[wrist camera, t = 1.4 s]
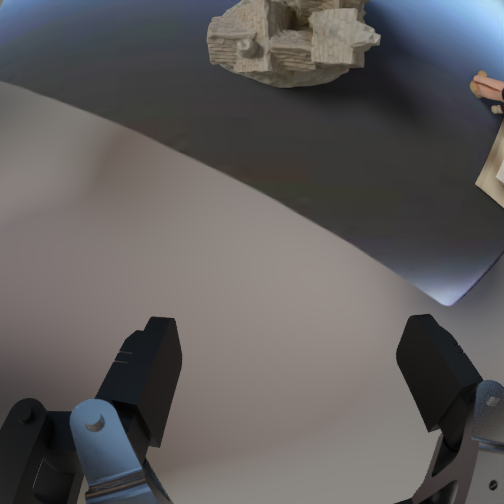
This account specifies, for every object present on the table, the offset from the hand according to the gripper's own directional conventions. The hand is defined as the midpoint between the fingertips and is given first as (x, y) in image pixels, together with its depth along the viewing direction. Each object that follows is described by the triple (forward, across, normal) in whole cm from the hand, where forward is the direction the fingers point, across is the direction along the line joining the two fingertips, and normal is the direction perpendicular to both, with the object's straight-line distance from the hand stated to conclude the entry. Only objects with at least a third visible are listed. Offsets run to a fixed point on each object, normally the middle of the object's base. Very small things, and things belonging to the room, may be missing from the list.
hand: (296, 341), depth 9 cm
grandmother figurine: (+23, -28, -18) cm, 40 cm away
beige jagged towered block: (+24, -2, -20) cm, 31 cm away
